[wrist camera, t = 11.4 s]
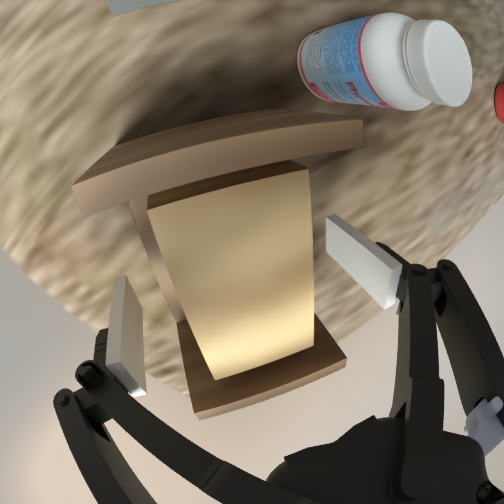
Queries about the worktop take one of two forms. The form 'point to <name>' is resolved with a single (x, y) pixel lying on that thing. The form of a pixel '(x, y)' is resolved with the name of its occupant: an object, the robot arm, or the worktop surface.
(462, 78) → the pill bottle
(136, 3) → the riser block
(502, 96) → the beer can
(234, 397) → the peg frame
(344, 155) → the worktop surface
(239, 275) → the shelf board
